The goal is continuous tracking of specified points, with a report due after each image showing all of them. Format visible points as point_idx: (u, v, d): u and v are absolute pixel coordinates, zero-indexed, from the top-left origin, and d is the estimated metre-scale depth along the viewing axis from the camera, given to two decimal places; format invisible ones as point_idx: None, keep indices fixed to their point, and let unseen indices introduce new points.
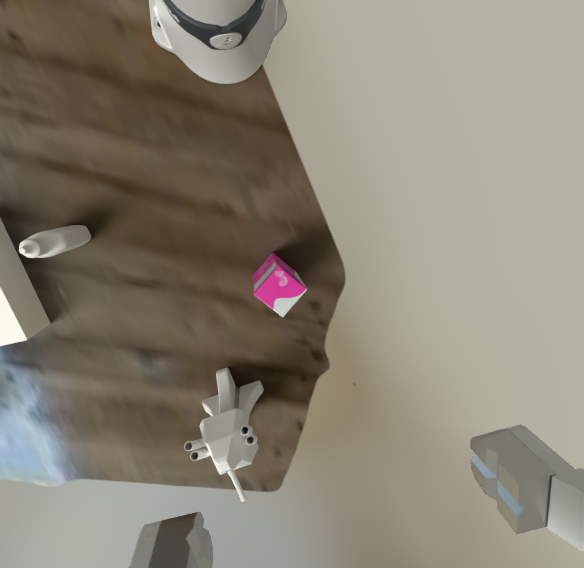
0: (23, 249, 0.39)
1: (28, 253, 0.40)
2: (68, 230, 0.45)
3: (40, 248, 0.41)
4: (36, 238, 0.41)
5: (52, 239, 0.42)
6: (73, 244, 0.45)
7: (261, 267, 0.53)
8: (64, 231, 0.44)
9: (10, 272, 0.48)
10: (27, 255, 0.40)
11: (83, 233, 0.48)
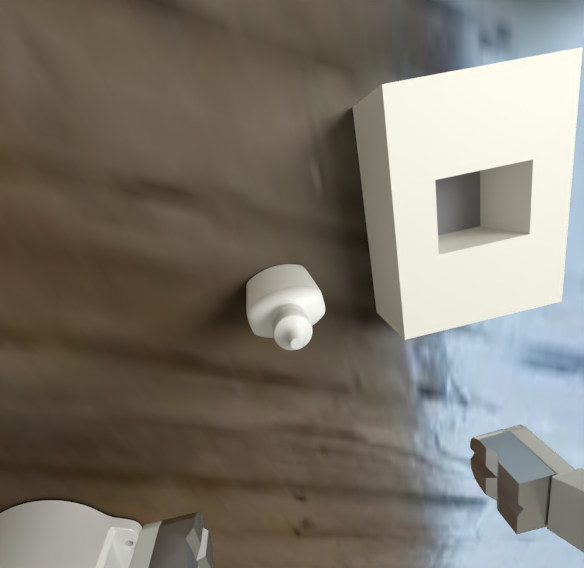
0: (293, 346, 0.18)
1: (292, 329, 0.19)
2: None
3: (274, 331, 0.19)
4: None
5: (266, 329, 0.22)
6: (248, 301, 0.23)
7: None
8: None
9: (380, 233, 0.26)
10: (299, 321, 0.19)
11: None
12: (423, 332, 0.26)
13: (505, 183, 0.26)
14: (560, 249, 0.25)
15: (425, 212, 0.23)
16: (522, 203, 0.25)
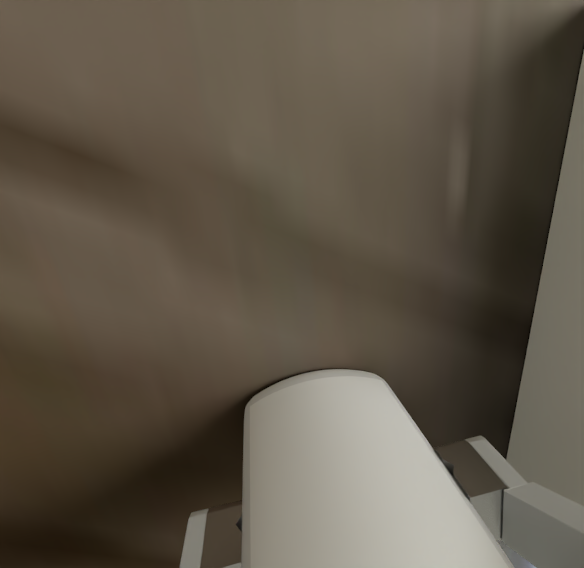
0: None
1: None
2: None
3: None
4: None
5: None
6: (249, 561, 0.07)
7: None
8: None
9: None
10: None
11: None
12: None
13: None
14: None
15: None
16: None
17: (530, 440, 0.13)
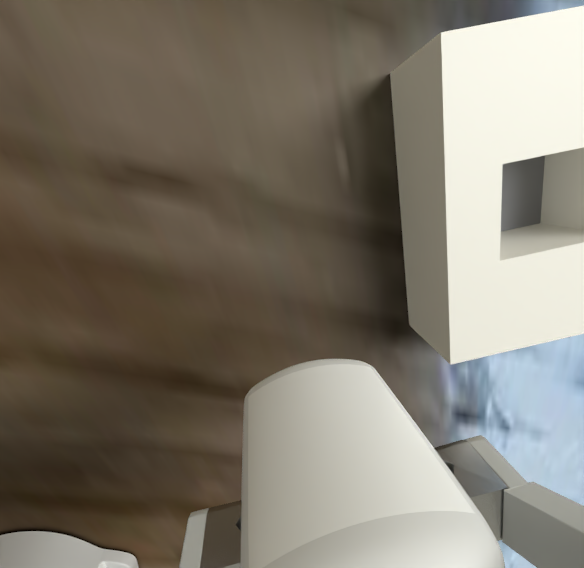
0: None
1: None
2: None
3: None
4: None
5: None
6: (247, 520, 0.08)
7: None
8: None
9: (422, 232, 0.21)
10: None
11: None
12: (473, 355, 0.21)
13: (583, 169, 0.20)
14: None
15: (486, 206, 0.18)
16: None
17: (412, 298, 0.25)
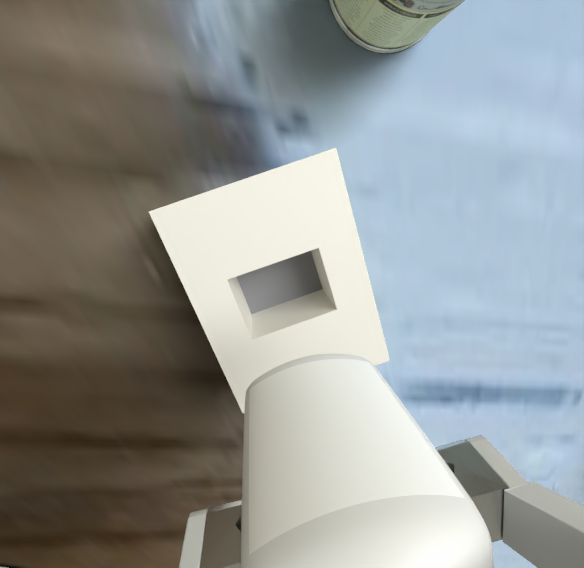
0: None
1: None
2: None
3: None
4: None
5: None
6: (247, 504, 0.08)
7: None
8: None
9: None
10: None
11: None
12: None
13: (317, 259, 0.27)
14: (373, 317, 0.27)
15: (226, 307, 0.25)
16: (327, 281, 0.26)
17: None
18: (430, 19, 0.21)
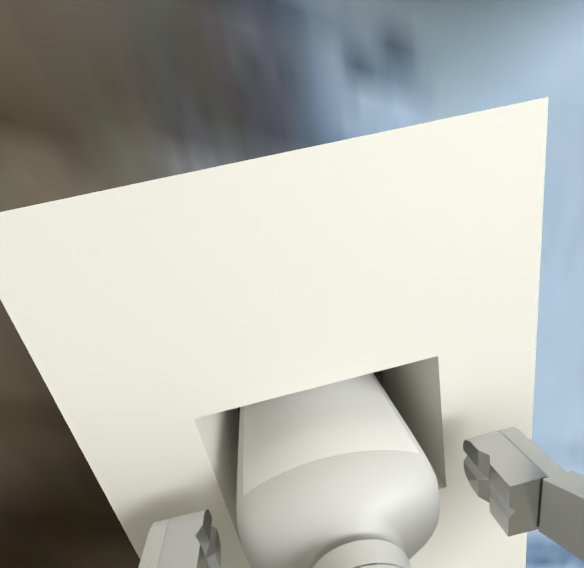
0: None
1: None
2: None
3: None
4: None
5: None
6: (242, 459, 0.10)
7: None
8: None
9: None
10: None
11: None
12: None
13: None
14: None
15: (186, 480, 0.10)
16: (430, 421, 0.11)
17: None
18: None
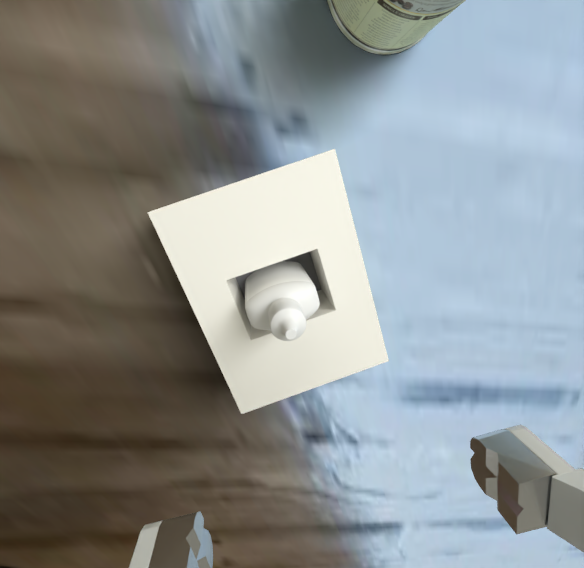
0: (288, 337, 0.19)
1: (287, 321, 0.20)
2: None
3: (270, 323, 0.21)
4: None
5: (263, 322, 0.23)
6: (246, 296, 0.25)
7: None
8: None
9: None
10: (293, 314, 0.20)
11: None
12: (257, 405, 0.28)
13: (316, 260, 0.27)
14: (371, 318, 0.27)
15: (225, 308, 0.25)
16: (326, 282, 0.26)
17: None
18: (428, 21, 0.22)
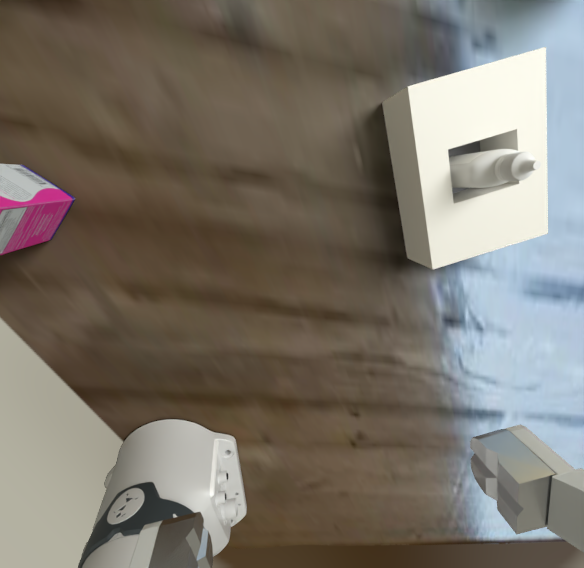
0: (534, 167, 0.27)
1: (528, 159, 0.27)
2: (458, 184, 0.33)
3: (510, 164, 0.28)
4: (506, 179, 0.29)
5: (486, 175, 0.30)
6: (460, 164, 0.32)
7: (53, 220, 0.32)
8: (466, 184, 0.32)
9: (409, 193, 0.35)
10: (530, 156, 0.28)
11: None
12: (446, 263, 0.35)
13: (499, 148, 0.35)
14: (543, 193, 0.34)
15: (442, 173, 0.32)
16: None
17: (407, 238, 0.39)
18: None
